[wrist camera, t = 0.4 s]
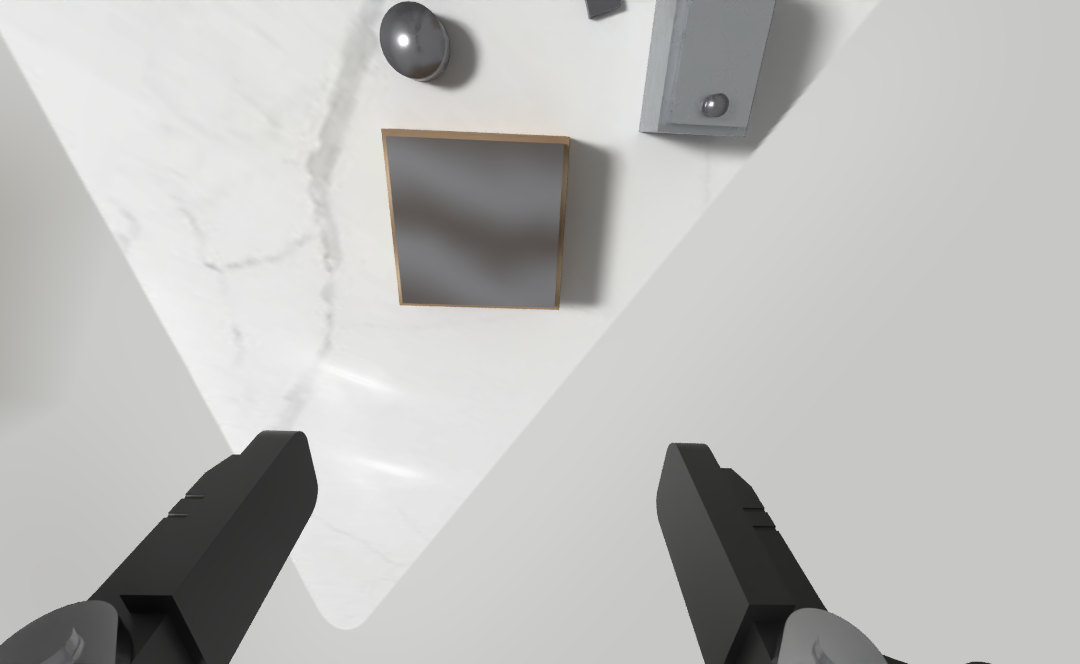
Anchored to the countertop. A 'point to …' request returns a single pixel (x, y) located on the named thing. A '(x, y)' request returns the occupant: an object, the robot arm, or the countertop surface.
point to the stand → (477, 217)
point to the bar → (600, 6)
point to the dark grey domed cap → (414, 41)
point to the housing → (704, 65)
